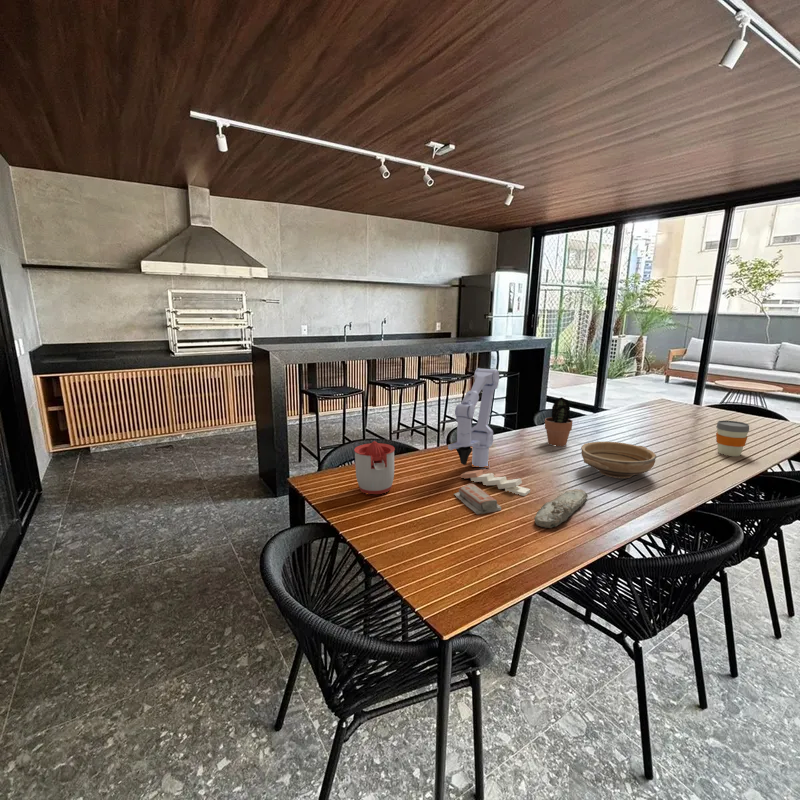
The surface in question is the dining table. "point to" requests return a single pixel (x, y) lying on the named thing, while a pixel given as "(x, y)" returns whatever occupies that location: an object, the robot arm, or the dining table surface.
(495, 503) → the packaged product
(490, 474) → the cream white flat block
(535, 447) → the dining table surface
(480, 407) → the robot arm
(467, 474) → the brown rectangular block
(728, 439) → the reusable coffee cup
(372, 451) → the citrus juicer
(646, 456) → the ceramic bowl
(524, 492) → the domino
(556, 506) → the long grey stone
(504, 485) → the domino
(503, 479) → the domino
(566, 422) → the potted plant
